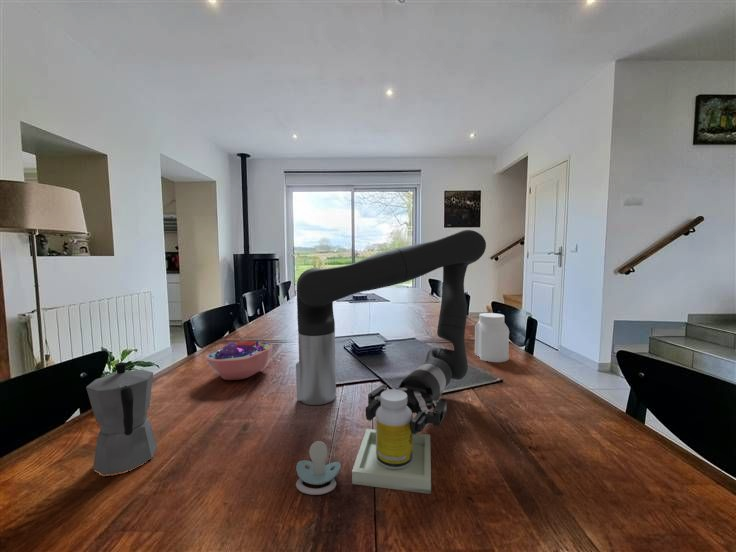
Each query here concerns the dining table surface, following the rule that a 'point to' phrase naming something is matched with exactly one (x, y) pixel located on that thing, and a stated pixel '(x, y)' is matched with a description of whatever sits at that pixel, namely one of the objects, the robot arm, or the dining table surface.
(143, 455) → the coffeepot
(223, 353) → the cell model
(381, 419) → the pill bottle
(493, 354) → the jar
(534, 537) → the dining table surface
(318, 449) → the pacifier
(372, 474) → the dish
